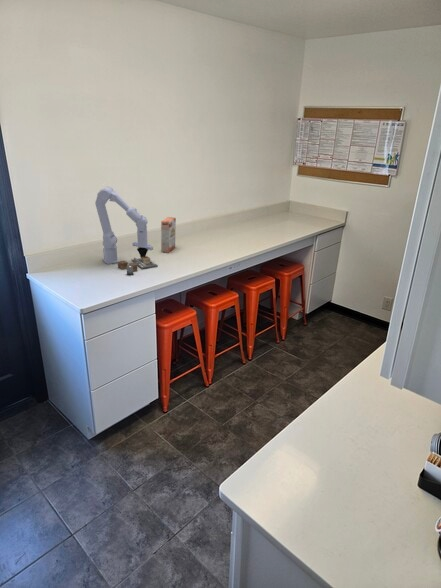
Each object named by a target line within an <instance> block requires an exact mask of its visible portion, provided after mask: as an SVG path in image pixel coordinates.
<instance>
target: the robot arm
mask: <svg viewBox="0 0 441 588" xmlns="http://www.w3.org/2000/svg"><path fill="white" fill-rule="evenodd" d="M96 195H97V196H96V199H95V206H96V207H95V208H96V210H97V211H96V212H97V214H98V218H99V222H100V226H101V229H102V246H103V251H102V253H103V258H102V261H103V262H104V263H105V264H107V265H109V264H110V265H111V264H118V262H119V261H120V260H119V259H118V247H117V242H118V238H117V236H116V235H115V233H114V231H113V229H112V225H111V223H110V219H109V215H108V214H109V213H108V210H107V207H106V204H107V202H108V201H109V202H114V203H116V204H117V205H118V206H119V207H121V208H122V209H123V210H124V211H125V213H126V216H127V217H128V218H130V220H131V221H132V222H133V223H135V226H136V228H137V229H136V233H137V234H136V235H137V242H136V241H134V242H132V243H131V244H132V247H137V249H136V250H137V252H138V253H139V256H140V258H141V257H146V256H147V253H148V251H153V250H154V246H151V245H150V244H148V226H147V224H148V219H147V217H146V216H144V215H142V214H141V213H140V212H138V209H137V208H135V207H130V205H129V204H128V203H127V202H126V201H125V200H124V199H123V198H122V197H121V195H119V193H118V192H117V191H116V190H114V189H113V188H112V187H111V186H106V187H104V188H102V189H100V190H99V192H97V194H96Z"/></svg>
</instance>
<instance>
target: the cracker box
mask: <svg viewBox="0 0 441 588" xmlns="http://www.w3.org/2000/svg"><path fill="white" fill-rule="evenodd" d="M160 223H161V224H160V226H161V227H160V228H161V229H160V232H161V234H160V236H161V237H160V239H161V240H160V242H161V243H160V244H161V245H160V246H161V251H160V252H161V253H165V254H166V253H170V252H171V251H173V250H174V249H175V248H176V229H177V228H176V224H177V223H176V217H173V216H168V217H167V216H166V218H165V219H163V220H161V222H160Z"/></svg>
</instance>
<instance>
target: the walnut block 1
mask: <svg viewBox="0 0 441 588" xmlns="http://www.w3.org/2000/svg"><path fill="white" fill-rule="evenodd" d="M128 263H129V262H128V261H127V260H125V259H124V260H119V262H118V263H117V268H118V269H119V270H121V271H122V270H123V271H124V270H127V265H129V264H128Z"/></svg>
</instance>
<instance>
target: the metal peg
mask: <svg viewBox="0 0 441 588" xmlns="http://www.w3.org/2000/svg"><path fill="white" fill-rule="evenodd" d="M126 276H134V272H133V265H129V264H128V265H127V269H126Z"/></svg>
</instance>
